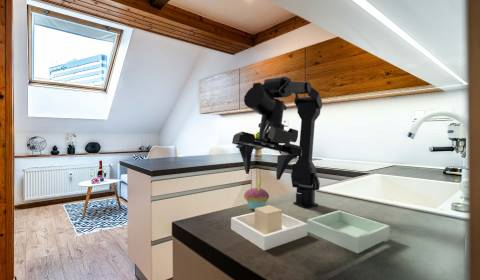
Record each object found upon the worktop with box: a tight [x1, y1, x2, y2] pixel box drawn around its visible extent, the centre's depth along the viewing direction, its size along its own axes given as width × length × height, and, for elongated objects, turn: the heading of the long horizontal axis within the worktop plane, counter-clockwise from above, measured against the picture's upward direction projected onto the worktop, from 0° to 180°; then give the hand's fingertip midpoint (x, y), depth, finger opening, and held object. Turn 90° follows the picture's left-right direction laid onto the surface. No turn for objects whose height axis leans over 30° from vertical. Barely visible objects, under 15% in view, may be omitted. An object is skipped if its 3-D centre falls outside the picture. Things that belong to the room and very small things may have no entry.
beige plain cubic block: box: [254, 204, 283, 235], centre depth 63 cm, size 5×5×6 cm
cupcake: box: [243, 174, 270, 210], centre depth 83 cm, size 9×8×12 cm
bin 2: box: [306, 210, 391, 254], centre depth 62 cm, size 14×14×4 cm
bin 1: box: [230, 211, 309, 251], centre depth 63 cm, size 14×14×4 cm
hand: (263, 176), depth 64 cm, fingers open, 9 cm apart
